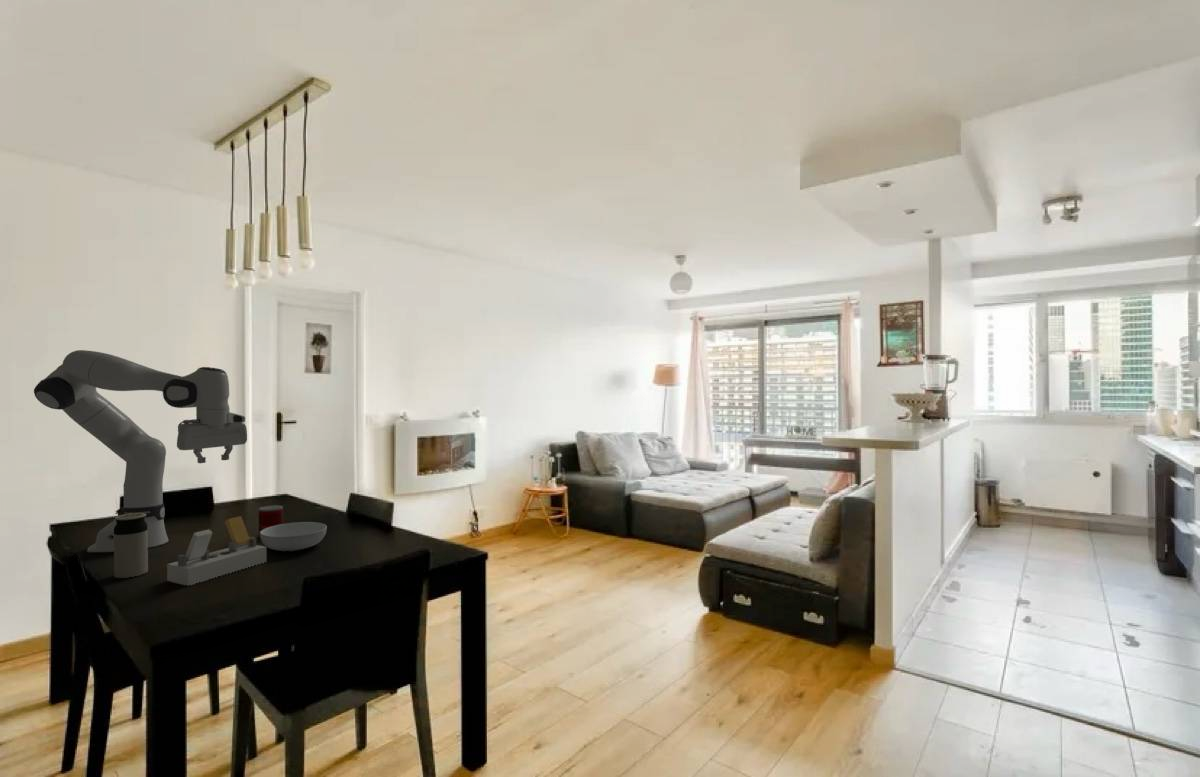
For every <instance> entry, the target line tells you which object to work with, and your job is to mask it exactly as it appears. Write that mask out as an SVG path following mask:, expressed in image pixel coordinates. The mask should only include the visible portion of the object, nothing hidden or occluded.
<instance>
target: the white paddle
mask: <svg viewBox="0 0 1200 777" xmlns="http://www.w3.org/2000/svg"><path fill="white" fill-rule="evenodd" d="M212 535H213V532H212V530H211V529H206V530H205V529H204V530H201V531H197V532H193V535H192V537H191V540H190V542H189V545H188V548H187V550H186V554H185V556H187V562H188V561H192V560H196V559H199V558H203V557H204V554H205V552H206V549H207V550H208V547H209V544H210V541H211V539H212Z"/></svg>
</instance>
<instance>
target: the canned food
mask: <svg viewBox="0 0 1200 777" xmlns="http://www.w3.org/2000/svg"><path fill="white" fill-rule="evenodd" d="M280 524H284V506H283V505H278V504H274V505H266V506H261V507H259V508H258V537H259V538H260V531H262V530H263V529H265V528H268V527H271V526H275V525H280Z"/></svg>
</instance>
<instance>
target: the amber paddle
mask: <svg viewBox="0 0 1200 777" xmlns="http://www.w3.org/2000/svg"><path fill="white" fill-rule="evenodd" d="M243 519H244V518H243V517H242V515H241V516H240V515H239V516H236V517H231V518H228V519H227V520H224V524H225V526H226V528H227V531H228V534H229V537H230V540H231V542H236V543H237V548H240V547H244V546H248V545H251V541H249V540H250V538H249V537H250V536H249V533H248V531H247V528H246V527H247V526H246V525H245V523H244V520H243Z"/></svg>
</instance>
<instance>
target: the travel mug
mask: <svg viewBox="0 0 1200 777" xmlns="http://www.w3.org/2000/svg"><path fill="white" fill-rule="evenodd" d="M145 516H146V514H145V513H131V514H124V515H120V516H118V515H117V516H115V517H114V520H116V523H117V524H116V526H115V527H114V552H113V575H114V576H113V577H114V578H115V579H121V578H123V579H130V578H129V577H132V578H136V577H135V576H137V577H140V576H143V575H144V574H146V573H148V571H149V563H148V562H149V552H148V550H149V548H148V536H147V523H146V522H145ZM142 574H143V575H142Z"/></svg>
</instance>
